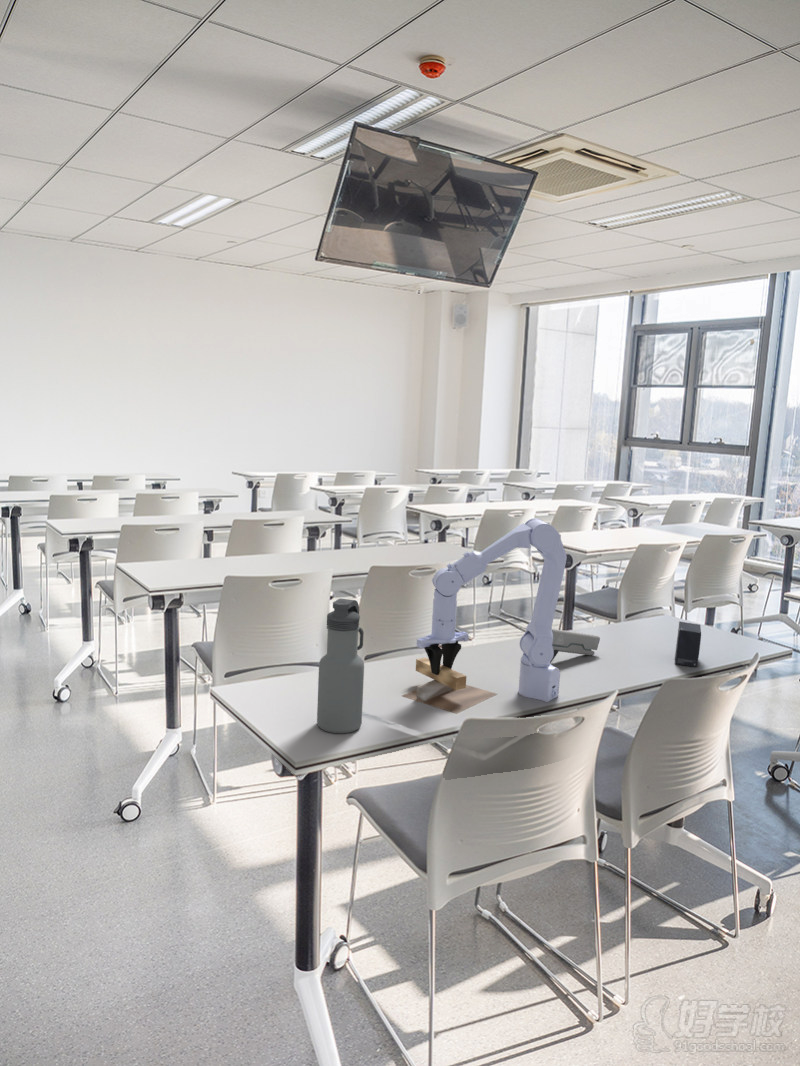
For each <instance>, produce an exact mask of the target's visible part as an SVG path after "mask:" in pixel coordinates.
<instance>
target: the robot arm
mask: <svg viewBox="0 0 800 1066" xmlns="http://www.w3.org/2000/svg"><path fill="white" fill-rule="evenodd" d="M561 536H562V535H561V533H560V532H559V531H558V530H557V529H556V528H555V527H554V526H553V525H551V524H550V523H547V522H545V521H544V520H542V519H540V518H530V519H528V520H527V521H525V523H521V524H519V525H517V526H516V527H514V528H512V530H511V531H509V532H507V533H506V534H505V535H503V536H501V537H500V538H499V539H497V540H496V541H495V542H492V543H491V544H490V545H489V546H487V547H486V548H484V549H483V550H482V551H479V552H478V551H475V550H473V551H471V552H469V551H466V552H464V553H462V555H463V556H462V557H461V558H459V559H458V560H456V561H455V562H453V563H452V564H451V563H447V564H446V567H442V568H439V569H438V570H437V571H436V572H435V573H434V575H433V577H432V578H431V579H432V580H431V581H432V584H433V586H434V593H433V601H432V602H433V603H432V615H431V618H432V620H431V633H430V634H429V635H426V636H423V637H420V638H416V645H415V647H417V648H419V649H424V651H425V652H426V653H425V654H426V655H427V657H428V659H429V661H430V666H431V671H432V673H433V674H435V675H439V672H440V664H441V662H442V665H443V666H445V667H448V668H450V669H452V668H453V665H454V662H455V659H456V658H457V655H458V654H459V652H460V651H461V650H462V644H461V643H459V642H468V641H469V633H468V632H465V631H456V625H457V624H456V623H457V608H458V607H457V605H458V600H457V597H458V596H457V595H458V593H459V592H460V589H461V587H462V586H464V585H466V584H467V583H469V582H471V581H472V580H474V579H475V578H477V577H479V576H480V575H482V574H484V573H485V572H486V571H487V568H488V564H490V563H492V562H493V561H495V560H498V559H499V558H501V557H502V556H504V555H506V554H508V553H509V552H511V551H513V550H515V549H519V548H523V549H531V548H532V546H533V548H535V549H536V550H537V552H538V553H539V554H540V556H541V557H542V558H543V565H542V569H541V573H540V579H539V583H538V587H537V593H536V597H535V602H534V605H533V610H532V616H531V620H530V622H528V624H527V626H526V629H525V631H524V633H523V635H522V636H521V638H519V639H520V640H519V648H520V650H521V651H522V653H523V654H522V655H521V657H520V663H519V665H520V666H519V677H518V678H519V679H518V694H519V695H521V697H522V696H523V697H526V698H529V699H536V700H538V701H542V702H546V703H548V702H550V701H552V700H553V699H556V698H557V697H559V692H560V691H559V690H560V681H561V680H560V679H561V673H560V672H561V671H560V669H559V668H558V667H556V666H554V665H553V664H551V663H550V661H551V660H552V658H553V655H554V650H553V647H552V642H553V633H552V629H553V623H554V619H555V613H556V609H557V605H558V600H559V595H560V592H561V586H562V581H563V577H564V574H565V573H564V572H565V568H566V563H567V560H568V556H567V553H566V549H565V547H564V545H563V541H562V537H561ZM531 545H532V546H531ZM440 645H441V646H440Z"/></svg>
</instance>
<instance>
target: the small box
mask: <svg viewBox="0 0 800 1066" xmlns="http://www.w3.org/2000/svg"><path fill="white" fill-rule="evenodd" d="M701 639H702V631H701V624H698V623H691V622H685V621H679V622H678V629H677V637H676V645H675V653H674V664H675V663H676V664H675V665H679V664H680V665H681V666H686V665H687V667H694V668H697V667H698V663H699V659H700V657H699V656H700V650H701V641H702V640H701Z"/></svg>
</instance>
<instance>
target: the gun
mask: <svg viewBox="0 0 800 1066" xmlns="http://www.w3.org/2000/svg"><path fill="white" fill-rule="evenodd" d="M552 633H553V642H552V647H553V650H554V655H553V658H552V660H551V661H550V664H551V663H552V662H553V661H554V660H555V658H556V656H557V654H559V652H560V653H569V654H576V655H584V656H591V655H593V656H594V655H595V651H598V648H599V643H600V641H601V640H600V639H601V638H600V636H598V635H594V634H589V633H588V634H587V633H583V632H576V631H569V630H563V629H562V630H561V629H555V628H552Z"/></svg>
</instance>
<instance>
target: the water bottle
mask: <svg viewBox="0 0 800 1066" xmlns="http://www.w3.org/2000/svg"><path fill="white" fill-rule="evenodd" d="M332 609H334V610H332V611H330V612H328V613H327V615H326V629H327V644H326V654H324V655H323V656H322V657H321V658H320V659H319V662H318V663H319V664H318V681H317V685H318V686H317V709H316V710H317V712H316V723H317V726H318V727H319V728H320V729H322V731H325V732H327V733H332V734H348V733H352V732H355V731H357V730H358V729H360V728H361V725H362V723H363V701H364V680H365V679H364V678H365V676H364V675H365V662H364V660H363V658H362V657H361V656H359V655H358V651H360V650H361V649H362V648H363V647H364V633H365V632H364V630H363V628H362V627H360V619H361V616H360V606H359V603H358V601H357V600H356V599H349V598H348V599H347V598H338V599H336V600H335V601H333V602H332ZM358 642H359V645H358Z"/></svg>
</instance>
